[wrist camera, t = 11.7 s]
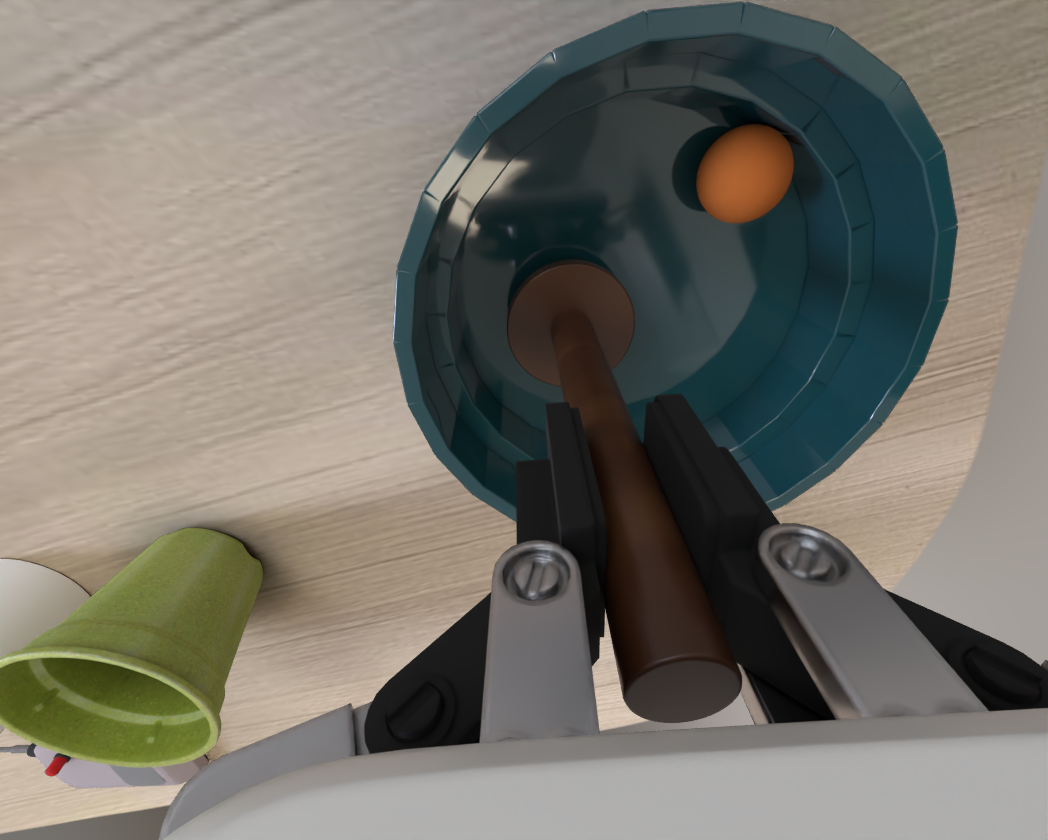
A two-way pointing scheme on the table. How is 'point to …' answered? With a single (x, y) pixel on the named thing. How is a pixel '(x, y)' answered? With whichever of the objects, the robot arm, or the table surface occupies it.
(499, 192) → the bowl
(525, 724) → the robot arm
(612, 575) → the stirring stick
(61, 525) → the table surface
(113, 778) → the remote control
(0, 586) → the cylindrical container
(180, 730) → the plant pot
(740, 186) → the ball
